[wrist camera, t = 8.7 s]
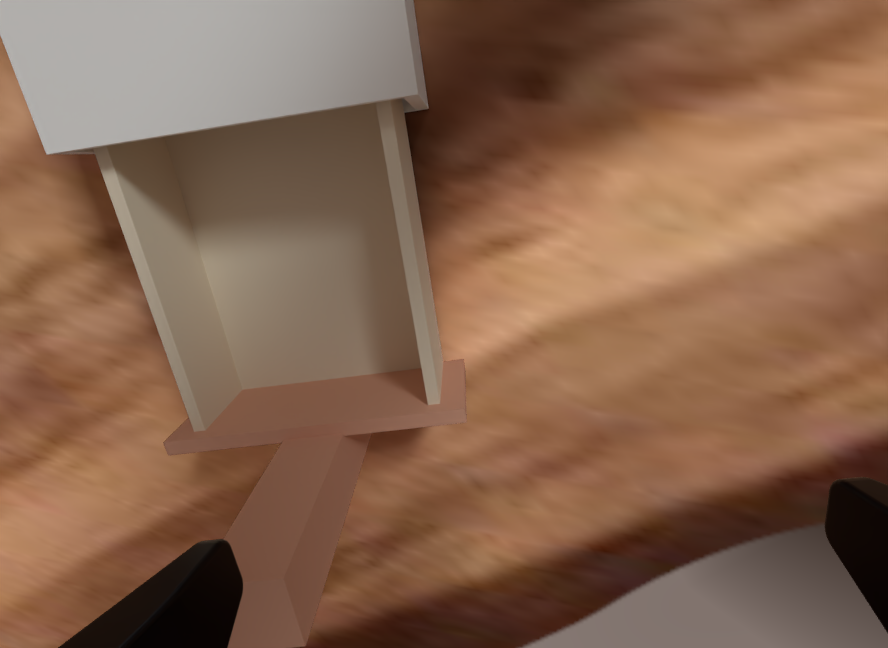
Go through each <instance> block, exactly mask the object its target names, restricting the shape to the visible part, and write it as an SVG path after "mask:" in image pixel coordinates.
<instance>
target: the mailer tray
mask: <svg viewBox="0 0 888 648" xmlns="http://www.w3.org/2000/svg"><path fill="white" fill-rule="evenodd" d="M93 150H94V153H95V156H96V159H97V161H98V164H99V167H100V170H101V173H102V175H103V178H104V181H105V184H106V187H107V189H108V192H109V195H110V198H111V201H112V203H113V206H114V209H115V212H116V215H117V217H118V220H119V223H120V226H121V229H122V231H123V234H124V237H125V240H126V243H127V245H128V248H129V251H130V254H131V257H132V259H133V262H134V265H135V268H136V271H137V273H138V276H139V279H140V282H141V285H142V287H143V290H144V293H145V296H146V299H147V301H148V304H149V307H150V310H151V313H152V315H153V318H154V321H155V324H156V327H157V329H158V332H159V335H160V338H161V341H162V343H163V346H164V349H165V352H166V355H167V357H168V360H169V363H170V366H171V369H172V371H173V374H174V377H175V380H176V383H177V385H178V388H179V391H180V394H181V397H182V399H183V402H184V405H185V408H186V411H187V413H188V416H189V418H188V419H187V420H186V421H185V422H184V423H183V424H182V425H181V426H180V427H179V428H178V429H177V430H176V431H174V432H173V433H172V434H171V435H170V436H169V437H168V438H167V439H166V440H165V441H164V442H163V443H164V446H165V449H166V451H167V454H168V455H177V454H186V453H195V452H204V451H213V450H222V449H231V448H240V447H249V446H258V445H267V444H276V443H281V445H280V447H279V448H278V450H277V452H276V453H275V455H274V456H273V458H272V460H271V461H270V463H269V465H268V466H267V468H266V470H265V471H264V473H263V475H262V476H261V478H260V479H259V481H258V483H257V484H256V486H255V488H254V489H253V491H252V493H251V494H250V496H249V498H248V499H247V501H246V502H245V504H244V506H243V507H242V509H241V511H240V512H239V514H238V516H237V517H236V519H235V521H234V522H233V524H232V525H231V527H230V529H229V530H228V532H227V534H226V535H225V537H224V540H226V541H228V542H229V543H230V545H231V548H232V551H233V553H234V556H235V559H236V562H237V564H238V567H239V570H240V573H241V575H242V579H243V594H242V598H241V602H240V605H239V609H238V612H237V616H236V619H235V623H234V626H233V630H232V634H231V637H230V641H229V644H228V648H291V647H304V646H306V644H307V640H308V637H309V634H310V631H311V628H312V624H313V621H314V618H315V615H316V611H317V608H318V605H319V602H320V599H321V595H322V592H323V589H324V586H325V582H326V579H327V576H328V573H329V569H330V566H331V563H332V560H333V557H334V553H335V550H336V547H337V544H338V540H339V537H340V534H341V531H342V528H343V524H344V521H345V518H346V515H347V511H348V508H349V505H350V502H351V498H352V495H353V492H354V489H355V486H356V482H357V479H358V476H359V473H360V469H361V466H362V463H363V460H364V456H365V453H366V450H367V447H368V444H369V440H370V437H371V434H372V433H376V432H385V431H394V430H403V429H412V428H421V427H430V426H439V425H448V424H457V423H466V422H467V413H466V378H465V365H464V359H459V360H451V361H443V356H442V350H441V344H440V337H439V331H438V324H437V318H436V312H435V305H434V299H433V293H432V286H431V280H430V274H429V267H428V261H427V254H426V248H425V242H424V235H423V229H422V223H421V216H420V210H419V203H418V197H417V191H416V184H415V178H414V172H413V165H412V159H411V152H410V146H409V140H408V133H407V127H406V121H405V114H404V108H403V102H402V98H400V99H394V100H388V101H382V102H376V103H370V104H363V105H357V106H351V107H345V108H339V109H332V110H326V111H320V112H314V113H308V114H302V115H295V116H289V117H283V118H277V119H271V120H265V121H258V122H252V123H246V124H240V125H234V126H227V127H221V128H215V129H209V130H203V131H197V132H190V133H184V134H178V135H172V136H166V137H160V138H153V139H147V140H141V141H135V142H129V143H122V144H116V145H110V146H104V147H98V148H93Z"/></svg>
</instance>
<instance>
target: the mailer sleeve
mask: <svg viewBox="0 0 888 648" xmlns="http://www.w3.org/2000/svg"><path fill="white" fill-rule="evenodd" d="M0 36H1V38H2V41H3V43H4V46H5V48H6V51H7V54H8V56H9V59H10V61H11V64H12V66H13V69H14V72H15V74H16V77H17V79H18V82H19V85H20V87H21V90H22V92H23V95H24V97H25V100H26V103H27V105H28V108H29V110H30V113H31V115H32V118H33V121H34V123H35V126H36V128H37V131H38V134H39V136H40V139H41V141H42V144H43V146H44V149H45V152H46V154H95V153H94V150H93V148H98V147H104V146H110V145H116V144H122V143H129V142H135V141H141V140H147V139H153V138H160V137H166V136H172V135H178V134H184V133H190V132H197V131H203V130H209V129H215V128H221V127H227V126H234V125H240V124H246V123H252V122H258V121H265V120H271V119H277V118H283V117H289V116H295V115H302V114H308V113H314V112H320V111H326V110H332V109H339V108H345V107H351V106H357V105H363V104H370V103H376V102H382V101H388V100H394V99H400V98H402V102H403V108H404V113H406V112H413V111H419V110H425V109H429V107H428V100H427V93H426V86H425V79H424V72H423V65H422V58H421V51H420V44H419V37H418V30H417V23H416V15H415V8H414V1H413V0H0Z"/></svg>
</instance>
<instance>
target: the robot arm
mask: <svg viewBox="0 0 888 648" xmlns="http://www.w3.org/2000/svg"><path fill="white" fill-rule="evenodd" d="M825 532H826V535H827V538H828V540H829V542H830V544H831V546H832V548H833V549H834V551H835V552H836V554H837V555H838V557H839V558H840V560H841V562H842V563H843V565H844V566H845V568H846V569H847V571H848V572H849V574H850V575H851V577H852V578H853V580H854V582H855V583H856V585H857V586H858V588H859V589H860V591H861V593H862V594H863V595H864V597H865V599H866V600H867V602H868V603H869V605H870V606H871V608H872V610H873V611H874V613H875V614H876V616H877V617H878V619H879V620H880V622H881V623H882V625H883V627H884V628H885V630H886V631H887V633H888V485H886V484H884V483H881V482H879V481H876V480H874V479H871V478H867V477H856V478H846V479H838V480H836V481H834V482H833V483H832V484H831V486H830V489H829V497H828V504H827V511H826V518H825ZM242 594H243V579H242V575H241V573H240V570H239V567H238V564H237V562H236V559H235V556H234V553H233V551H232V548H231V545H230V543H229V542H228V541H226V540H224V539H217V540H207V541H201V542H198V543H197V544H195V545H194V546H192V547H191V548H190V549H189V550H187V551H186V552H185V553H183V554H182V555H181V556H179V557H178V558H177V559H175V560H174V561H173V562H171V563H170V564H169V565H167V566H166V567H165V568H163V569H162V570H161V571H159V572H158V573H157V574H155V575H154V576H153V577H151V578H150V579H149V580H147V581H146V582H145V583H143V584H142V585H141V586H139V587H138V588H137V589H135V590H134V591H133V592H131V593H130V594H129V595H127V596H126V597H125V598H123V599H122V600H121V601H120V602H118V603H117V604H116V605H114V606H113V607H112V608H110V609H109V610H108V611H106V612H105V613H104V614H102V615H101V616H100V617H98V618H97V619H96V620H94V621H93V622H92V623H90V624H89V625H88V626H86V627H85V628H84V629H82V630H81V631H80V632H78V633H77V634H76V635H74V636H73V637H72V638H70V639H69V640H68V641H66V642H65V643H64V644H62V645H61V646H60V647H58V648H228V644H229V641H230V637H231V634H232V630H233V626H234V623H235V619H236V616H237V612H238V609H239V605H240V602H241V598H242Z"/></svg>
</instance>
